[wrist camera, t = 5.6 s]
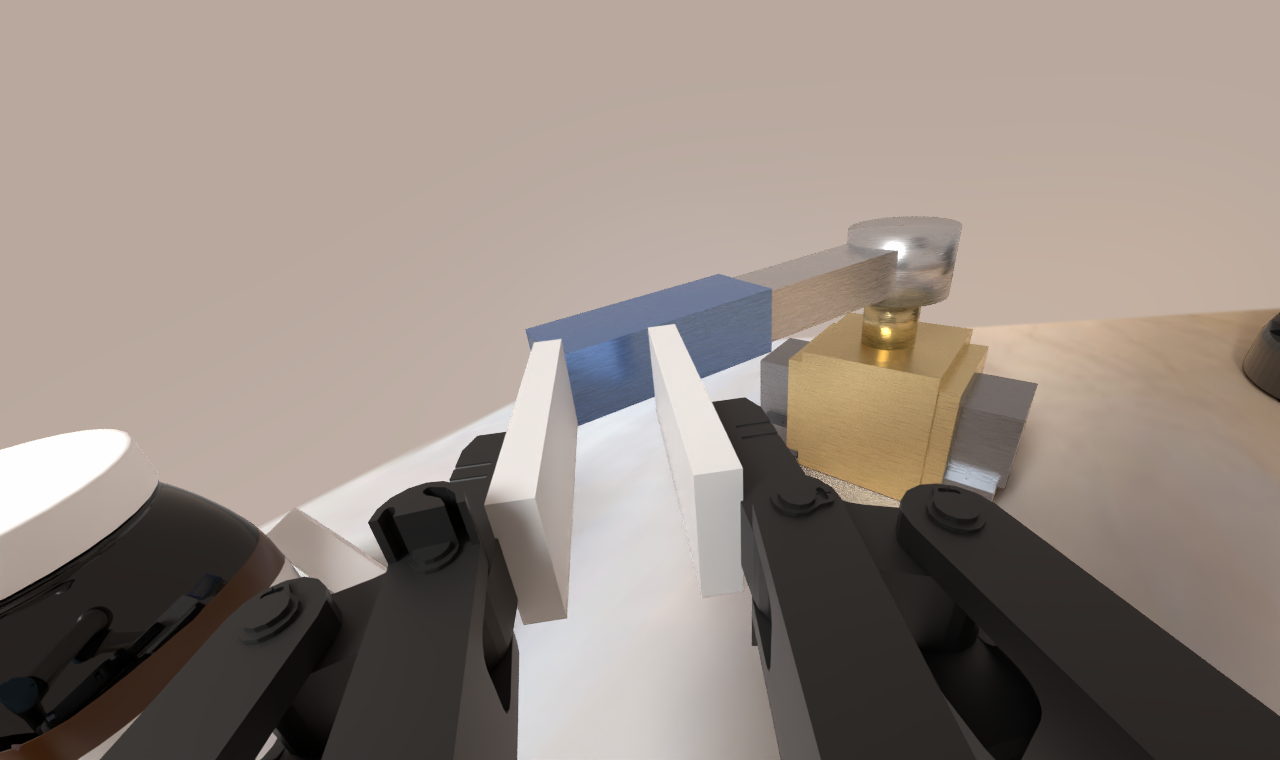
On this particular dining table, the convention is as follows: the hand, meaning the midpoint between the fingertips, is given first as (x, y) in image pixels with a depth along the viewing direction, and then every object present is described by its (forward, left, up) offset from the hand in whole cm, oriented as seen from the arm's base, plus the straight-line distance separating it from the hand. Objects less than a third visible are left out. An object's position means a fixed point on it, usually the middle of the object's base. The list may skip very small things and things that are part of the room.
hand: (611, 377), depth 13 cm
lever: (-7, -6, -2) cm, 9 cm away
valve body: (-13, -9, -11) cm, 20 cm away
